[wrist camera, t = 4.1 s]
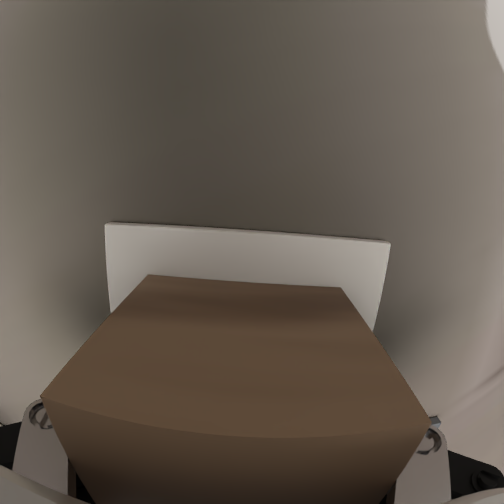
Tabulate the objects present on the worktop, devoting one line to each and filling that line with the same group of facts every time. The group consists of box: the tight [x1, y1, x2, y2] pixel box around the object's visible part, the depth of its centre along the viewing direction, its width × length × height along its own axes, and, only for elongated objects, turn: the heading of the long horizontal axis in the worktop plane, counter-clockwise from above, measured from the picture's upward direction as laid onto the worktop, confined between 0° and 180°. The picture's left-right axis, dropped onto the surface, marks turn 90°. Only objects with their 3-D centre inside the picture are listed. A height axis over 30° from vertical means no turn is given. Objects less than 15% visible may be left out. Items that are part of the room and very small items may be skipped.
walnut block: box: [40, 274, 432, 504], centre depth 7 cm, size 6×6×6 cm
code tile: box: [105, 222, 391, 332], centre depth 10 cm, size 9×9×1 cm
